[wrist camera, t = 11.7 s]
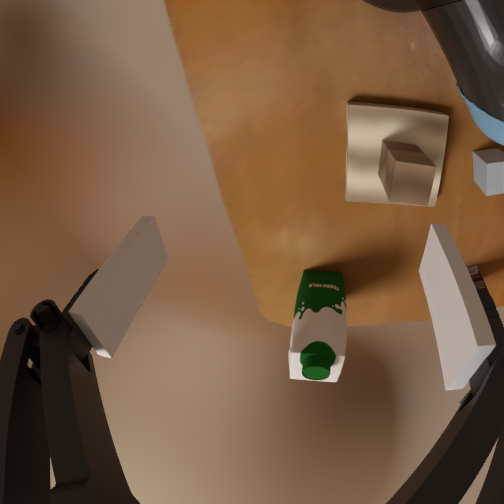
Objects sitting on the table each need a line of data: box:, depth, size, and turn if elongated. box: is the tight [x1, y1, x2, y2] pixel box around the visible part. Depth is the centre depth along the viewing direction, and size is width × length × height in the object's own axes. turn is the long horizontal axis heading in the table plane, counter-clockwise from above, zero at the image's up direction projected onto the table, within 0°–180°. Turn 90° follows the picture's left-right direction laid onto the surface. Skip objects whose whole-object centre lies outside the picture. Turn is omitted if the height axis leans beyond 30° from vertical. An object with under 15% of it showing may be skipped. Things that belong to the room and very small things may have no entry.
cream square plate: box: [345, 102, 449, 207], centre depth 38 cm, size 14×14×3 cm
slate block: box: [473, 148, 504, 196], centre depth 33 cm, size 5×5×5 cm
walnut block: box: [378, 140, 436, 206], centre depth 34 cm, size 5×5×8 cm
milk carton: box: [289, 270, 347, 382], centre depth 49 cm, size 9×9×20 cm
